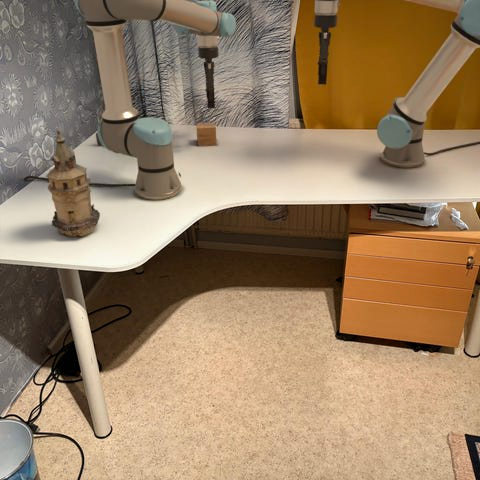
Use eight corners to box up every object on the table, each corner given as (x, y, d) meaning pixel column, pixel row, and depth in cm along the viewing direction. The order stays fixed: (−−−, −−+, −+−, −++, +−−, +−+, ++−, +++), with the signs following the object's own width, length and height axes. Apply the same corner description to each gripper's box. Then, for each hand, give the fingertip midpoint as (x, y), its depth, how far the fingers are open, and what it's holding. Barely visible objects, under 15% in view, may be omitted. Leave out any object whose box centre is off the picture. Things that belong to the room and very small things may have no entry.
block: (216, 145, 217) (215, 127, 213) (198, 146, 216) (197, 128, 213) (215, 139, 223) (214, 122, 219) (197, 140, 222) (196, 123, 218)
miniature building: (80, 214, 164) (63, 117, 149) (111, 225, 157) (96, 125, 142) (44, 231, 154) (22, 130, 140) (75, 244, 147) (55, 139, 133)
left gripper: (220, 52, 189) (222, 111, 199) (216, 40, 210) (218, 94, 221) (198, 53, 188) (201, 112, 199) (197, 40, 210) (200, 95, 220)
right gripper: (338, 19, 165) (333, 88, 176) (336, 9, 187) (331, 71, 197) (314, 19, 166) (310, 88, 177) (314, 9, 188) (311, 71, 198)
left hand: (210, 103), depth 210 cm, fingers open, 13 cm apart
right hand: (321, 79), depth 187 cm, fingers open, 13 cm apart
